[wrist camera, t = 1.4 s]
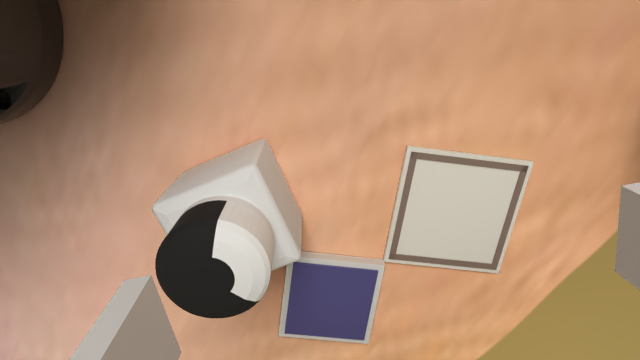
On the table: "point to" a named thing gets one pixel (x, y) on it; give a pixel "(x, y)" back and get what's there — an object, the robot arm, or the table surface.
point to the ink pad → (330, 297)
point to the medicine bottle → (227, 232)
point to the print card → (455, 209)
